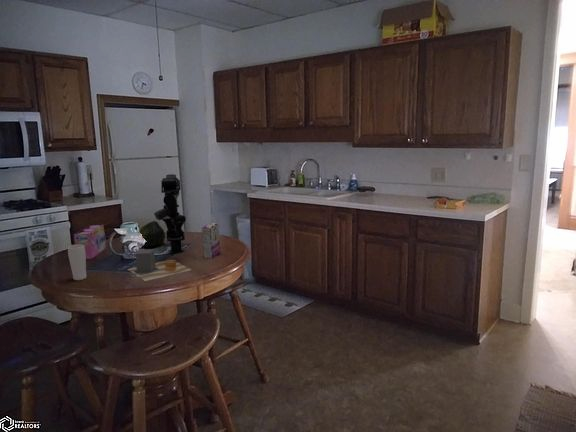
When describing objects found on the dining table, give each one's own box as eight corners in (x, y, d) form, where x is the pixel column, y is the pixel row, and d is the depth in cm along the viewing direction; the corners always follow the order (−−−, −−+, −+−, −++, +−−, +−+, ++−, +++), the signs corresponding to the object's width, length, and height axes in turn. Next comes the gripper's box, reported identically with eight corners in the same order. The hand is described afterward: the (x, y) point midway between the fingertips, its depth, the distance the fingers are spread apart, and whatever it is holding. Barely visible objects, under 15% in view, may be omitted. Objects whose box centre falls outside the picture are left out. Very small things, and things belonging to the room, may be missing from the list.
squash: (129, 237, 239) (139, 219, 232) (150, 232, 252) (160, 215, 245) (142, 256, 235) (153, 238, 228) (163, 250, 248) (174, 233, 241)
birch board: (127, 270, 198) (127, 268, 198) (171, 260, 212) (171, 259, 212) (145, 282, 182) (145, 280, 182) (191, 270, 195) (191, 269, 195)
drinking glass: (75, 276, 191) (71, 244, 188) (90, 275, 192) (86, 243, 189) (69, 281, 185) (64, 248, 182) (85, 280, 185) (80, 247, 182)
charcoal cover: (141, 268, 199) (139, 249, 197) (155, 267, 199) (153, 249, 197) (136, 272, 193) (135, 253, 191) (151, 272, 193) (149, 253, 191)
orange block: (167, 268, 198) (167, 260, 197) (176, 268, 198) (175, 259, 197) (165, 271, 194) (165, 262, 193) (174, 270, 194) (173, 262, 194)
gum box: (93, 247, 241) (90, 224, 238) (107, 246, 241) (105, 223, 239) (76, 259, 217) (73, 234, 215) (92, 259, 218) (89, 233, 215)
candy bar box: (211, 252, 224) (209, 222, 221) (220, 252, 223) (218, 222, 220) (203, 258, 214) (201, 227, 210) (212, 259, 213) (210, 227, 209)
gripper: (148, 202, 212) (150, 233, 215) (163, 207, 198) (166, 239, 201) (169, 200, 219) (171, 229, 222) (185, 204, 205) (187, 235, 208)
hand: (173, 233), depth 213 cm, fingers open, 9 cm apart
